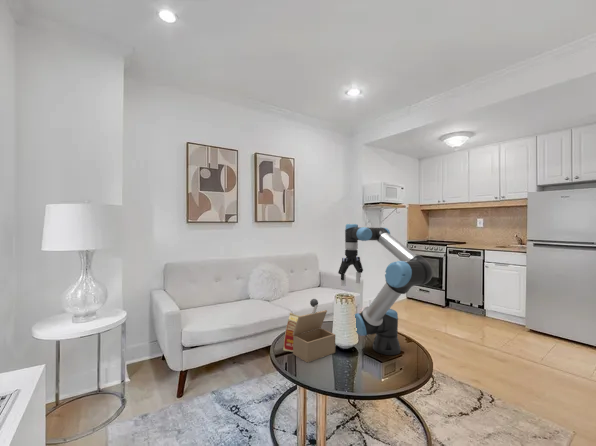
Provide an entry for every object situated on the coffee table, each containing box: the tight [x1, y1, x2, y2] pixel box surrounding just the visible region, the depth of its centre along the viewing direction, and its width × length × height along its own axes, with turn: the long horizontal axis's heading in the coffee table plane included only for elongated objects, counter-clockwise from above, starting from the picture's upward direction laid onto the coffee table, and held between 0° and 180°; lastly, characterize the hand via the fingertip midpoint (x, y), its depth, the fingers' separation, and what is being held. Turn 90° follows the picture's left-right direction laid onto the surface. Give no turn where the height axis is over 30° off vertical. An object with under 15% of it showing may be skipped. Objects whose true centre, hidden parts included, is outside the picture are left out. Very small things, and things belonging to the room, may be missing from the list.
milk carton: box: [282, 312, 300, 353], centre depth 166 cm, size 9×9×20 cm
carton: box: [292, 327, 336, 363], centre depth 159 cm, size 12×20×10 cm, turn 127°
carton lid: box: [293, 298, 328, 335], centre depth 162 cm, size 20×20×5 cm
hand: (350, 284), depth 176 cm, fingers open, 13 cm apart
